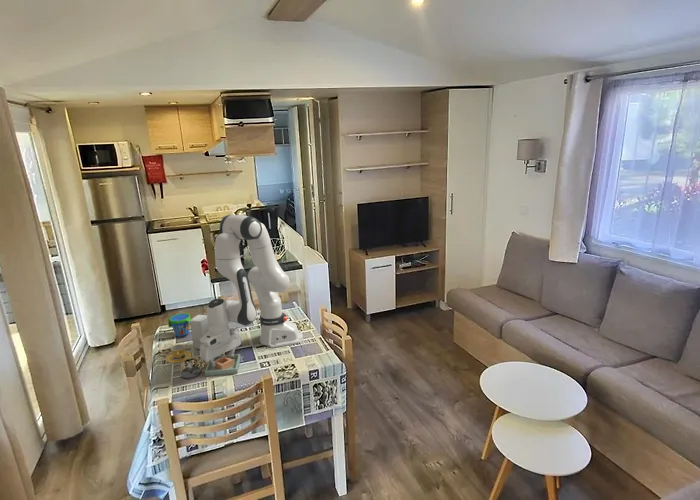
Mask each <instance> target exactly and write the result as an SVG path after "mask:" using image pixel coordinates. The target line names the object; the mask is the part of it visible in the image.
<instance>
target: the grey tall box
mask: <svg viewBox="0 0 700 500" xmlns="http://www.w3.org/2000/svg"><path fill="white" fill-rule="evenodd" d="M190 325H191V326H190V328H191V330H190V331H191V337H192V346H193V349H194V350H200V346H201V344H202V343H200V339H201V338H202V337H203V336H204V335H205V334H206V333H207V332H208V331H209V323H208V319H207V314H197V315H195V316H194V317H193V318H192V319H191V320H190Z"/></svg>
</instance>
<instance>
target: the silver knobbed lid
mask: <svg viewBox="0 0 700 500" xmlns="http://www.w3.org/2000/svg"><path fill="white" fill-rule="evenodd" d="M179 375H180V377H181V379H183V380H190V379H191V380H192V379H195V378H197V377H200V375H202V368H201V367H200V366H194V365H193V363H192V362H191V361H189V362H187V367H185V368H184V369H182V370H181V371H180V374H179Z"/></svg>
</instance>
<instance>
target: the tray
mask: <svg viewBox="0 0 700 500" xmlns="http://www.w3.org/2000/svg"><path fill="white" fill-rule="evenodd" d="M233 354H234V353H233ZM223 356H226V357H228V358H230V357H229V354H224V355H223V354H221V355H219V356H217V357H215V358H214V360H213V361H215V360H217V359H219V358H221V357H223ZM230 359H232V360H233V364H234V365H233V366H231V367H229V368H227V369H223V370H219V369H217V368H215V367H213V366H212V362H210V361H207V365H206V367H205V370H204V377H205V378H208V377H219V376H229V375H237V374H238V372H239V368H240V362H241V359H242V358H241V353H236V354H234V357H232V358H230Z"/></svg>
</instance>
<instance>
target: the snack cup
mask: <svg viewBox="0 0 700 500" xmlns="http://www.w3.org/2000/svg"><path fill="white" fill-rule="evenodd" d="M190 320H192V319H191V314H190V313H187V312H186V313H177V314H174V315H172V316H170V317H169V319H168V322H167V323H168V324H167V325H168V327H169V328H171V327H172V331H173V333H174V335H175V337H180V338H181V337H185V336H188V335H189V334H190V331H191V325H190Z"/></svg>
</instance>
